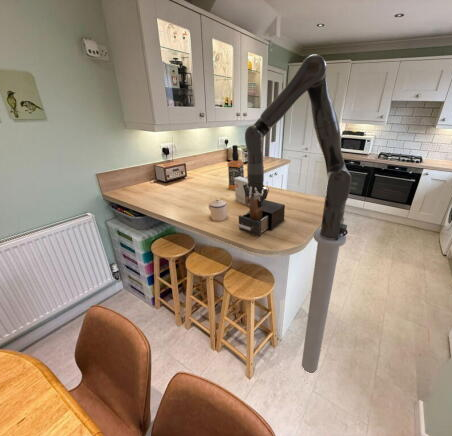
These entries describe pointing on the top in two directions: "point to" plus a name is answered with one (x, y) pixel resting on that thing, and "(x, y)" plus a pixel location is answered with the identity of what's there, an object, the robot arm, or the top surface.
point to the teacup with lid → (218, 210)
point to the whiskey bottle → (235, 168)
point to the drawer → (254, 224)
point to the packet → (255, 209)
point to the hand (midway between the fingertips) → (256, 206)
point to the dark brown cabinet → (274, 212)
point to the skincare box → (241, 190)
